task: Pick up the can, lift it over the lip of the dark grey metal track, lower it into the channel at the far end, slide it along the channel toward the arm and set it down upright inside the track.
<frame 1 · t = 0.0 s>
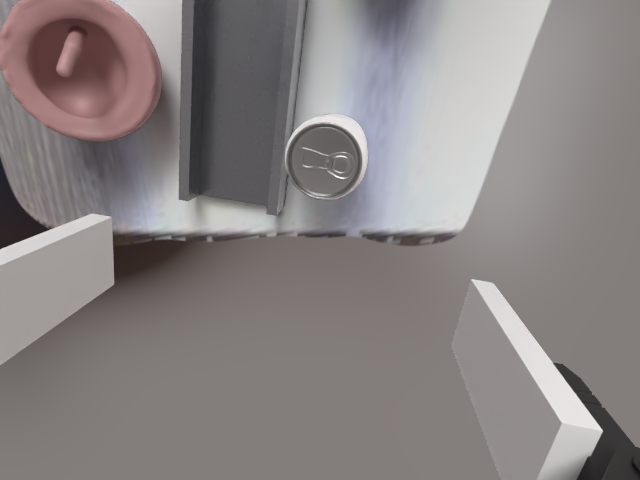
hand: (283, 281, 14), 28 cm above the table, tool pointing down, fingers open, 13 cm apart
mortar and pestle: (127, 75, 40), on the table
track: (246, 91, 39), on the table
can: (335, 146, 40), on the table
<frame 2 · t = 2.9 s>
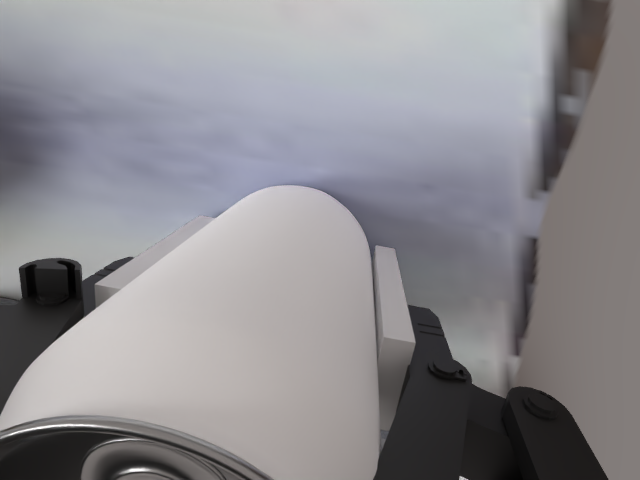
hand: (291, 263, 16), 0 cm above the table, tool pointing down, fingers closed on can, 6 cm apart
can: (294, 257, 17), on the table, touching gripper
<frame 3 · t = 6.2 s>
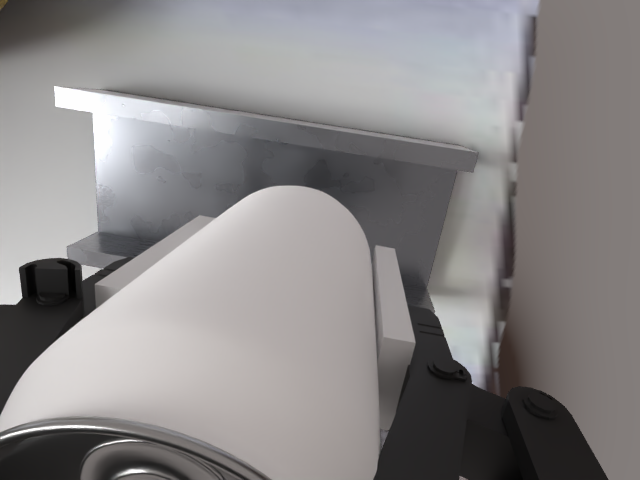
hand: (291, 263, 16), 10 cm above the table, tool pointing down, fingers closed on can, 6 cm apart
track: (268, 196, 25), on the table
can: (294, 257, 17), point 9 cm above the table, touching gripper
when the fingers open (2 cm above the table, at t = 9.7 s): can stays where it is, resting on track.
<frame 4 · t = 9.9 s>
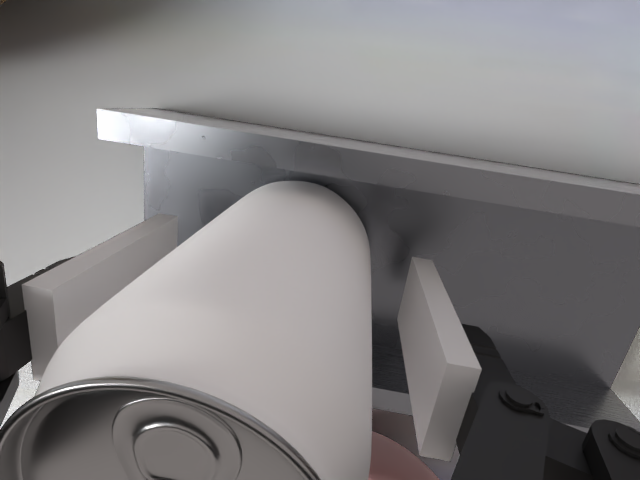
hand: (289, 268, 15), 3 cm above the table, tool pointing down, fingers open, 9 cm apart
mortar and pestle: (344, 458, 22), on the table
track: (386, 258, 18), on the table
can: (297, 249, 17), point 1 cm above the table, touching track
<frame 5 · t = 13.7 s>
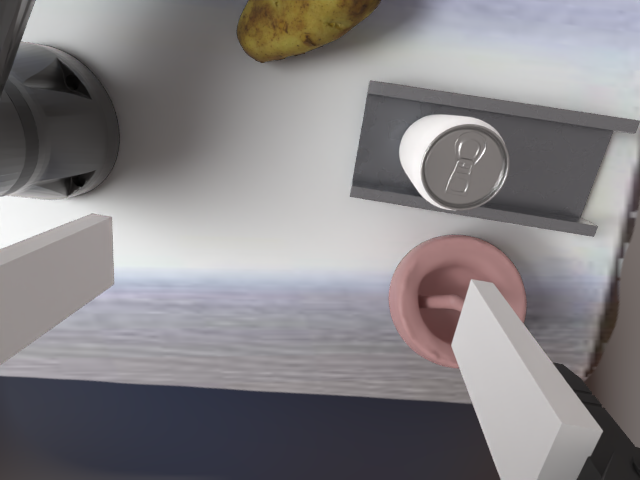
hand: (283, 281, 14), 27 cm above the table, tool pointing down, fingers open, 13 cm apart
mortar and pestle: (441, 273, 42), on the table
track: (473, 155, 38), on the table
can: (432, 149, 37), point 1 cm above the table, touching track
potato: (313, 11, 35), on the table
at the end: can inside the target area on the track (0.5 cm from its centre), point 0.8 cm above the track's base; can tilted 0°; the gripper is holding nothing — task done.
